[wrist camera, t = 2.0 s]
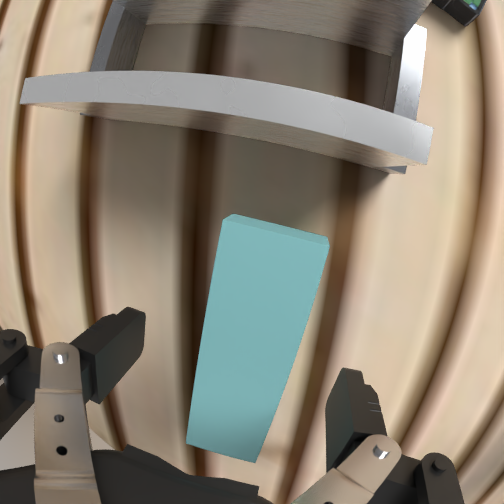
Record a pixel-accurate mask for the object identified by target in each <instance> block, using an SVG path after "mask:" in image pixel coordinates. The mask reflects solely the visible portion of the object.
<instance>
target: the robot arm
mask: <svg viewBox="0 0 504 504" xmlns="http://www.w3.org/2000/svg"><path fill="white" fill-rule="evenodd" d="M145 320H146V315H145V313H144V312H142V311H139V310H136V309H133V308H131V307H126V308H125V309H123V310H122V311H121V312H120V313H119V314H117V315H116V314H111V315H108V316H105V317H102V318H101V319H100V320H98V321H97V322H96V323H95V324H93V325H92V326H91V327H89V329H87V330H86V331H84V332H83V333H82V334H81V335H79V336H78V337H77V338H76V339H74V340H73V341H72V342H71V343H69V344H68V343H64V342H57V343H52V344H49V345H48V346H46V347H45V348H44V349H40V348H36V347H32V346H28V345H27V341H26V337H25V335H24V334H23V333H22V332H20V331H18V330H14V329H7V330H3V331H0V379H1V378H3V380H4V383H3V384H2V385H1V386H0V440H1V439H2V437H3V436H4V435H5V434H6V433H7V432H8V431H9V430H10V429H11V427H12V426H13V425H14V424H15V423H16V422H17V421H18V420H19V419H20V418H21V416H22V415H23V414H24V413H25V412H26V411H27V410H28V409H29V408H30V407H31V406H32V404H33V403H34V402H35V406H34V409H35V410H34V448H35V464H34V465H29V466H24V467H19V468H14V469H7V470H1V471H0V504H273V503H271V502H270V501H268V500H266V499H264V498H263V497H260V496H258V490H259V486H255V485H250V484H246V483H242V482H238V481H234V480H230V479H226V478H213V477H203V476H193V475H189V474H186V473H184V472H183V471H181V470H179V469H177V468H176V467H174V466H172V465H171V464H169V463H167V462H166V461H164V460H163V459H161V458H159V457H158V456H155V455H153V454H150V453H148V452H145V451H143V450H140V449H138V448H136V447H133V446H131V445H129V444H127V446H126V447H125V449H124V450H123V452H122V451H116V450H92V444H91V439H90V433H89V426H88V420H87V413H86V406H85V404H86V403H87V402H88V401H89V399H90V400H91V401H93V402H96V403H98V404H100V403H101V402H102V401H103V399H104V398H105V397H106V396H107V395H108V393H109V392H110V391H111V390H112V389H113V388H114V386H115V385H116V384H117V383H118V382H119V381H120V379H121V378H122V377H123V376H124V375H125V373H126V372H127V371H128V370H129V369H130V368H131V366H132V365H133V364H134V363H135V362H136V361H137V359H138V358H139V357H140V355H141V353H142V350H143V347H144V335H145ZM325 418H326V473H327V474H325V475H324V476H323V477H322V478H321V479H320V480H319V481H318V482H316V483H315V484H314V485H313V486H312V487H310V488H309V489H308V490H307V491H306V492H304V493H303V494H302V495H301V496H300V497H298V498H297V499H296V500H295V501H293V502H292V503H291V504H464V500H463V496H462V492H461V489H460V485H459V481H458V478H457V474H456V471H455V467H454V465H453V463H452V461H451V460H450V459H449V458H448V457H446V456H445V455H443V454H440V453H429V454H427V455H425V456H424V458H423V459H422V460H421V461H420V460H417V459H414V458H411V457H407V456H405V455H402V454H401V449H400V447H399V445H398V444H397V443H396V442H395V441H394V440H393V439H391V438H390V437H387V432H386V428H385V424H384V419H383V415H382V412H381V407H380V405H379V399H378V395H377V393H376V392H375V391H374V389H373V388H372V387H371V385H366V384H364V379H363V375H362V372H361V371H358V370H353V369H348V368H342V369H341V371H340V373H339V375H338V377H337V380H336V382H335V384H334V386H333V388H332V390H331V393H330V395H329V397H328V400H327V403H326V408H325Z"/></svg>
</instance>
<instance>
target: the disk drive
mask: <svg viewBox="0 0 504 504" xmlns="http://www.w3.org/2000/svg"><path fill="white" fill-rule="evenodd" d="M486 1H487V0H432V1H431V2H432V3H433V4H435V5H436V6H438V7H439V8H441V9H442V10H444V11H445V12H447V13H448V14H449V15H451V16H452V17H453V18H455V19H456V20H457V21H458V22H460V23H461V24H462V25H464V26H467V25H469V24H470V23H471V22H472V21H473V20H474V19H475V18H477V17H478V16H479V15H480V13H481V11H482V9H483V7H484V5H485V3H486Z"/></svg>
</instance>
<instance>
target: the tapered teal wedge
mask: <svg viewBox="0 0 504 504" xmlns="http://www.w3.org/2000/svg"><path fill="white" fill-rule="evenodd" d="M329 247H330V245H329V242H328V238H327V237H326V236H322V235H318V234H314V233H310V232H306V231H302V230H298V229H294V228H291V227H286V226H282V225H278V224H274V223H270V222H266V221H262V220H258V219H254V218H250V217H245V216H241V215H237V214H232V215H230V216H228V217H226V218H225V219H223V221H222V226H221V232H220V237H219V242H218V247H217V253H216V258H215V263H214V269H213V274H212V280H211V285H210V291H209V297H208V302H207V308H206V314H205V320H204V326H203V332H202V338H201V344H200V350H199V356H198V363H197V369H196V375H195V382H194V389H193V395H192V402H191V409H190V416H189V423H188V430H187V438H186V443H187V444H190V445H193V446H196V447H199V448H202V449H205V450H209V451H212V452H215V453H219V454H222V455H226V456H229V457H233V458H237V459H241V460H244V461H248V462H253V463H255V462H256V460H257V457H258V455H259V453H260V450H261V448H262V445H263V443H264V440H265V438H266V435H267V433H268V430H269V428H270V425H271V423H272V420H273V418H274V415H275V412H276V410H277V407H278V404H279V402H280V399H281V396H282V394H283V391H284V388H285V385H286V383H287V380H288V377H289V374H290V371H291V369H292V366H293V363H294V360H295V357H296V354H297V351H298V348H299V345H300V342H301V339H302V336H303V333H304V330H305V327H306V324H307V321H308V318H309V315H310V311H311V308H312V305H313V302H314V299H315V295H316V292H317V289H318V285H319V282H320V279H321V275H322V272H323V268H324V265H325V261H326V258H327V254H328V251H329Z"/></svg>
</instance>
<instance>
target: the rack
mask: <svg viewBox="0 0 504 504" xmlns="http://www.w3.org/2000/svg"><path fill="white" fill-rule="evenodd" d="M431 1H432V0H113V2H112V5H111V8H110V10H109V13H108V16H107V18H106V21H105V24H104V27H103V30H102V33H101V36H100V39H99V42H98V45H97V48H96V52H95V55H94V59H93V62H92V66H91V69H90V72H79V73H66V74H56V75H47V76H39V77H31V78H25V82H24V86H23V91H22V95H21V100H20V104H25V105H33V106H41V107H48V108H54V109H61V110H67V111H73V112H79V113H80V115H85V116H91V117H97V118H102V119H108V120H121V121H133V122H143V123H153V124H161V125H170V126H177V127H185V128H192V129H199V130H205V131H212V132H218V133H224V134H230V135H235V136H241V137H246V138H251V139H256V140H261V141H266V142H271V143H276V144H281V145H285V146H290V147H294V148H298V149H303V150H307V151H311V152H315V153H319V154H323V155H327V156H331V157H335V158H338V159H342V160H346V161H349V162H353V163H357V164H360V165H364V166H367V167H370V168H374V169H377V170H380V171H384V172H387V173H390V174H405V172H406V168H407V166H409V165H427V160H428V155H429V150H430V145H431V140H432V134H433V127H430V126H427V125H425V124H422V123H419V122H417V121H416V116H417V110H418V103H419V97H420V90H421V82H422V74H423V65H424V55H425V44H426V31H427V29H425V28H423V27H420V26H418V25H415V23H416V22H417V20H418V19H419V17H420V16H421V15H422V13H423V12H424V11H425V9H426V8H427V6H428V5H429V4H430V2H431ZM170 23H196V24H221V25H236V26H247V27H257V28H265V29H273V30H280V31H287V32H293V33H299V34H304V35H309V36H315V37H319V38H324V39H329V40H333V41H337V42H342V43H346V44H350V45H353V46H357V47H361V48H364V49H368V50H371V51H375V52H378V53H381V54H385V55H388V56H391V62H390V69H389V75H388V82H387V88H386V94H385V100H384V105H383V110H381V109H378V108H375V107H372V106H368V105H365V104H361V103H358V102H354V101H351V100H347V99H343V98H339V97H335V96H331V95H327V94H323V93H319V92H314V91H310V90H305V89H301V88H296V87H291V86H285V85H280V84H275V83H269V82H263V81H256V80H250V79H243V78H235V77H227V76H218V75H208V74H197V73H184V72H166V71H132V70H133V66H134V62H135V59H136V55H137V52H138V48H139V45H140V42H141V38H142V35H143V32H144V29H145V26H146V24H170Z"/></svg>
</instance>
